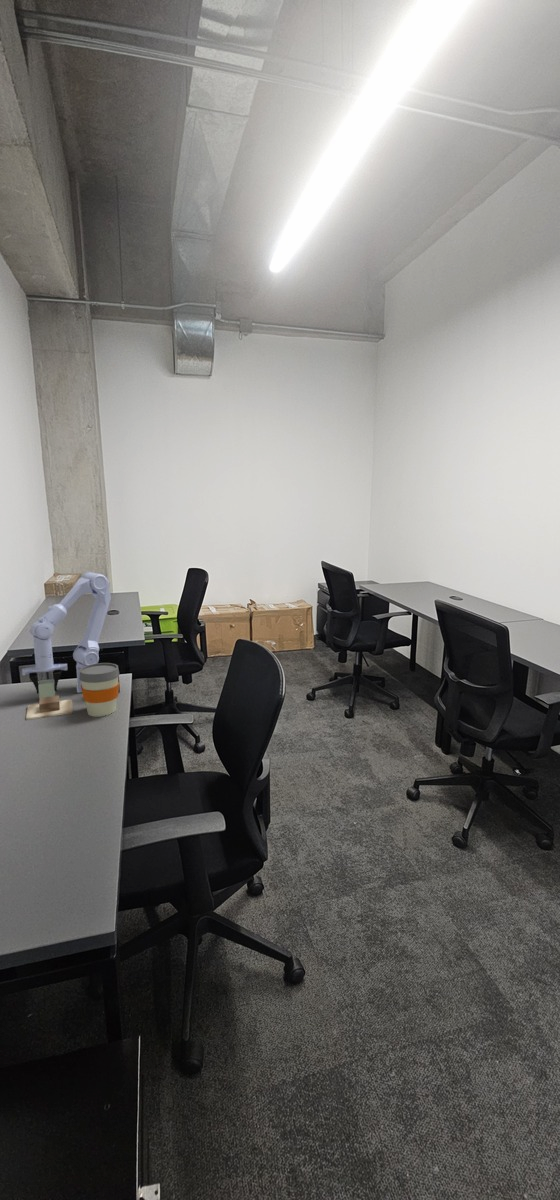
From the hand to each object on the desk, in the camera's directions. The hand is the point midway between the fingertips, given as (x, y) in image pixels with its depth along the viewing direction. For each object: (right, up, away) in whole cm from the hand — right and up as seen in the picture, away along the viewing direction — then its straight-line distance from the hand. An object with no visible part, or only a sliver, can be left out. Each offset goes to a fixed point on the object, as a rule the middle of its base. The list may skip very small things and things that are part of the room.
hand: (47, 691), depth 180 cm
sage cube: (0, -1, 0) cm, 1 cm away
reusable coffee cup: (+23, -5, -11) cm, 26 cm away
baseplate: (+6, -4, -10) cm, 12 cm away
